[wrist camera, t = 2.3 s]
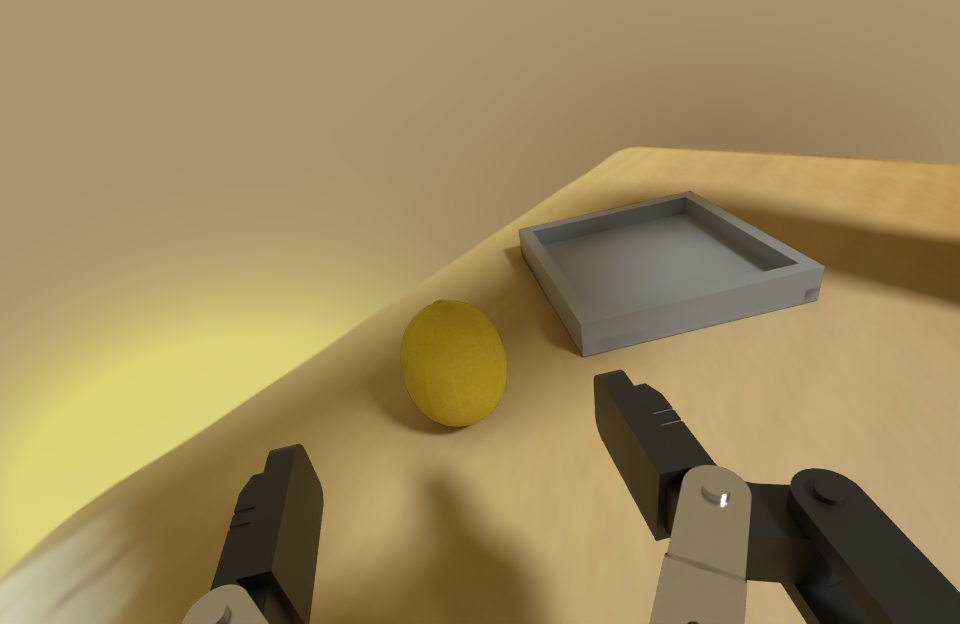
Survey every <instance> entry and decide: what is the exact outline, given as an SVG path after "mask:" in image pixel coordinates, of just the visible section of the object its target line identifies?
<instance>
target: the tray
mask: <svg viewBox="0 0 960 624" xmlns="http://www.w3.org/2000/svg"><path fill="white" fill-rule="evenodd" d="M519 236H520V244H521V252H522V256H523V258H524V259H525V261H526V263H527V264H528V266H529V268H530V269H531V271H532V273H533V274H534V276H535V278H536V279H537V281H538V283H539V284H540V286H541V288H542V289H543V291H544V293H545V294H546V296H547V298H548V299H549V301H550V303H551V304H552V306H553V308H554V309H555V311H556V313H557V314H558V316H559V318H560V319H561V321H562V323H563V324H564V326H565V328H566V329H567V331H568V333H569V334H570V336H571V338H572V339H573V341H574V343H575V344H576V346H577V348H578V349H579V351H580V353H581V354H582V356H583V357H585V356H589V355H594V354H598V353H602V352H606V351H610V350H614V349H618V348H622V347H627V346H631V345H635V344H639V343H643V342H647V341H651V340H655V339H660V338H664V337H668V336H672V335H676V334H680V333H684V332H689V331H693V330H697V329H701V328H705V327H709V326H713V325H717V324H722V323H726V322H730V321H734V320H738V319H742V318H746V317H750V316H755V315H759V314H763V313H767V312H771V311H775V310H779V309H783V308H788V307H792V306H796V305H800V304H804V303H808V302H812V301H816V300H818V295H819V291H820V287H821V282H822V278H823V274H824V269H825V266H823V265H821V264H820V263H818V262H816V261H814V260H812V259H811V258H809V257H807V256H805V255H804V254H802V253H800V252H798V251H796V250H795V249H793V248H791V247H789V246H787V245H786V244H784V243H782V242H780V241H779V240H777V239H775V238H773V237H771V236H770V235H768V234H766V233H764V232H763V231H761V230H759V229H757V228H755V227H754V226H752V225H750V224H748V223H746V222H745V221H743V220H741V219H739V218H738V217H736V216H734V215H732V214H730V213H729V212H727V211H725V210H723V209H721V208H720V207H718V206H716V205H714V204H713V203H711V202H709V201H707V200H705V199H704V198H702V197H700V196H698V195H697V194H695V193H693V192H691V191H689V192H685V193H680V194H676V195H671V196H667V197H662V198H658V199H653V200H649V201H644V202H640V203H635V204H631V205H626V206H622V207H618V208H613V209H609V210H604V211H600V212H595V213H591V214H586V215H582V216H577V217H573V218H568V219H564V220H559V221H555V222H551V223H546V224H542V225H537V226H533V227H528V228H524V229H519Z"/></svg>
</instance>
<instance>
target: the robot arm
mask: <svg viewBox="0 0 960 624" xmlns="http://www.w3.org/2000/svg"><path fill="white" fill-rule="evenodd" d="M594 399H595V418H596V424H597V428H598V431H599V434H600V436H601V439H602V441H603V443H604V444H605V446H606V448H607V450H608V452H609V454H610V456H611V457H612V459H613V461H614V463H615V465H616V467H617V469H618V471H619V472H620V474H621V476H622V478H623V480H624V482H625V484H626V486H627V487H628V489H629V491H630V493H631V495H632V497H633V499H634V501H635V502H636V504H637V506H638V508H639V510H640V512H641V514H642V516H643V517H644V519H645V521H646V523H647V525H648V527H649V529H650V531H651V532H652V534H653V536H654V538H655V540H656V541H658V540H662V539H666V538H670V542H669V547H668V551H667V553H665V556H664V559H663V563H662V568H661V572H660V577H659V581H658V586H657V591H656V595H655V600H654V605H653V609H652V614H651V619H650V623H649V624H744V623H745V610H746V596H747V580H753V581H765V582H778V583H781V584H782V586H783V587H784V589H785V590H786V592H787V593H788V595H789V596H790V598H791V600H792V601H793V603H794V604H795V606H796V607H797V609H798V610H799V612H800V613H801V615H802V617H803V618H804V620H805V621H806V623H807V624H960V592H959V591H958V590H957V589H956V588H955V587H954V586H953V585H952V584H951V583H950V582H949V581H948V579H947V578H946V577H945V576H944V575H943V574H942V573H941V572H940V571H939V570H938V569H937V568H936V567H935V566H934V565H933V564H932V563H931V562H930V561H929V559H928V558H927V557H926V556H925V555H924V554H923V553H922V552H921V551H920V550H919V549H918V548H917V547H916V546H915V545H914V544H913V543H912V542H911V540H910V539H909V538H908V537H907V536H906V535H905V534H904V533H903V532H902V531H901V530H900V529H899V528H898V527H897V526H896V525H895V524H894V523H893V522H892V520H891V519H890V518H889V517H888V516H887V515H886V514H885V513H884V512H883V511H882V510H881V509H880V508H879V507H878V506H877V505H876V504H875V503H874V501H873V500H872V499H871V498H870V497H869V496H868V495H867V494H866V493H865V492H864V491H863V490H862V489H861V488H860V487H859V486H858V485H857V484H856V483H854V482H853V481H852V480H850V479H848V478H847V477H845V476H843V475H841V474H839V473H836V472H833V471H830V470H825V469H815V468H812V469H806V470H802V471H800V472H798V473H797V474H796V475H794V477H793V478H792V481H791V484H790V485H778V484H757V483H750V482H745V481H744V480H743V479H742V478H741V477H740V476H738V475H737V474H736V473H734V472H732V471H731V470H728V469H726V468H723V467H720V466H717V465H716V464H715V463H714V461H713V460H712V459H711V458H710V456H709V455H708V454H707V452H706V451H705V450H704V448H703V447H702V446H701V444H700V443H699V442H698V441H697V439H696V438H695V437H694V435H693V434H692V433H691V431H690V430H689V429H688V427H687V426H686V425H685V423H684V422H682V421H681V418H680V417H679V416H678V414H677V413H676V412H675V410H673V409H672V406H671V405H670V404H669V403H668V401H667V400H666V399H665V397H664V396H663V395H662V394H661V393H660V392H658V391H657V390H655V389H654V388H652V387H650V386H649V385H647V384H646V383H645V384H640V385H636V386H634V385H633V383H632V382H631V381H630V379H629V378H628V376H627V375H626V373H625V372H624V371H623V370H617V371H612V372H608V373H604V374H599V375H596V376H595V377H594ZM234 513H235V515H234V516H233V517H232V521H231V524H230V531H228V534H227V537H226V541H225V544H224V547H223V551H222V554H221V557H220V561H219V564H218V567H217V570H216V574H215V577H214V580H213V584H212V587H211V590H210V592H208V593H207V594H205V595H204V596H202V597H201V598H200V599H199V600H198V601H197V602H196V603H195V604H194V605H193V606H192V607H191V608H190V610H189V611H188V612H187V614H186V616H185V617H184V619H183V621H182V623H181V624H309V622H310V613H311V605H312V596H313V588H314V580H315V571H316V563H317V555H318V546H319V538H320V529H321V521H322V513H323V492H322V487H321V484H320V481H319V479H318V477H317V474H316V472H315V470H314V468H313V466H312V464H311V462H310V460H309V457H308V455H307V453H306V451H305V449H304V447H303V446H302V445H301V444H296V445H292V446H288V447H284V448H279V449H275V450H271V451H270V452H269V454H268V458H267V461H266V465H265V469H264V473H261V474H256V475H253V476H252V477H251V478H250V480H249V481H248V483H247V484H246V485H245V487H244V488H243V490H242V491H241V492H240V494H239V497H238V501H237V504H236V507H235V511H234Z"/></svg>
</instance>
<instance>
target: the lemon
mask: <svg viewBox="0 0 960 624" xmlns="http://www.w3.org/2000/svg"><path fill="white" fill-rule="evenodd" d="M401 366H402V372H403V377H404V382H405V385H406V388H407V391H408V393H409V395H410V397H411V398H412V400H413V401H414V403H415V404H416V406H417V407H418V408H419V409H420V411H421V412H422V413H423V414H425V415H426V416H427V417H429V418H430V419H432V420H433V421H435V422H438V423H440V424H443V425H446V426H454V427H460V426H467V425H471V424H474V423H476V422H479V421H481V420H482V419H484V418H485V417H487V416H488V415H489V414H490V413H491V412H492V411H493V410H494V409H495V408H496V406H497V405H498V404H499V402H500V400H501V398H502V396H503V394H504V391H505V387H506V380H507V359H506V355H505V351H504V348H503V344H502V341H501V339H500V336H499V334H498V332H497V330H496V328H495V327H494V325H493V324H492V322H491V321H490V320H489V319H488V317H487V316H486V315H485V314H484V313H483V312H482V311H480V310H479V309H477V308H475V307H473V306H472V305H469V304H467V303H463V302H459V301H445V300H438V301H435V302H434V303H433V304H432V305H429V306H427V307H426V308H424V309H423V310H422V311H420V312H419V313H418V314H417V315H416V316H415V317H414V318H413V319H412V320H411V322H410V324H409V325H408V327H407V328H406V330H405V333H404V336H403V341H402V346H401Z"/></svg>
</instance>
